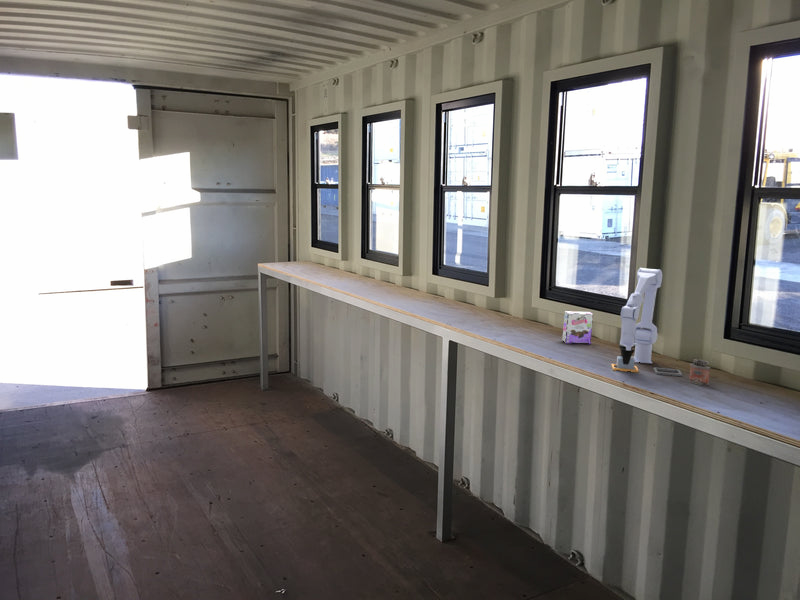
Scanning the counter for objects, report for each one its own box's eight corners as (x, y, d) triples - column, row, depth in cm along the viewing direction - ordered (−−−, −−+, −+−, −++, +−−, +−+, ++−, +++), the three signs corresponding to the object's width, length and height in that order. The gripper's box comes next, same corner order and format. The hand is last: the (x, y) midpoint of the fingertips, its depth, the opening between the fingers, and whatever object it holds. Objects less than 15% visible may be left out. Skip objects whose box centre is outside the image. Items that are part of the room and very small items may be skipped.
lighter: (686, 381, 269) (689, 358, 267) (690, 380, 271) (693, 357, 269) (706, 386, 263) (708, 362, 261) (709, 384, 265) (712, 361, 263)
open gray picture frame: (653, 369, 287) (653, 367, 286) (678, 371, 284) (678, 369, 284) (656, 374, 279) (656, 371, 279) (682, 376, 276) (682, 374, 276)
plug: (616, 365, 288) (617, 354, 288) (632, 366, 287) (633, 355, 286) (617, 368, 284) (618, 356, 283) (634, 369, 282) (635, 357, 282)
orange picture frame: (611, 365, 291) (611, 363, 290) (635, 368, 288) (636, 365, 288) (613, 370, 283) (613, 368, 283) (638, 372, 280) (638, 370, 280)
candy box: (565, 343, 335) (567, 312, 332) (561, 341, 340) (564, 310, 338) (591, 344, 335) (593, 313, 333) (587, 341, 341) (589, 311, 339)
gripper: (639, 337, 275) (636, 367, 277) (635, 330, 289) (632, 359, 291) (622, 335, 277) (619, 366, 279) (619, 329, 291) (616, 358, 293)
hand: (625, 362), depth 285 cm, fingers closed on plug, 4 cm apart
